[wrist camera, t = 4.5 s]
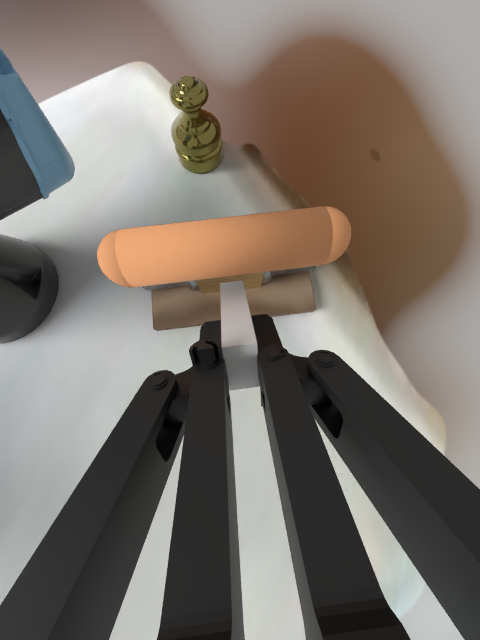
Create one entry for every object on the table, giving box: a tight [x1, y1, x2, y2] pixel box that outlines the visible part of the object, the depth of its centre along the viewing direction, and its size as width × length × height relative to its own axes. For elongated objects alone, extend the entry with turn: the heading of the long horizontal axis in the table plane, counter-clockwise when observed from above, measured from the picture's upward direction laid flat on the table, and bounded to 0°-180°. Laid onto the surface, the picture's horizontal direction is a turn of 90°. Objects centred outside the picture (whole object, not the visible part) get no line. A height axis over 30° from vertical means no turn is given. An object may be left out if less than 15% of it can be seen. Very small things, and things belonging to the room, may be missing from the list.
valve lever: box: [97, 207, 351, 287], centre depth 17 cm, size 3×12×16 cm
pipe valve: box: [143, 266, 316, 331], centre depth 29 cm, size 14×22×8 cm, turn 97°
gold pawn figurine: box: [169, 76, 223, 173], centre depth 32 cm, size 7×7×10 cm
